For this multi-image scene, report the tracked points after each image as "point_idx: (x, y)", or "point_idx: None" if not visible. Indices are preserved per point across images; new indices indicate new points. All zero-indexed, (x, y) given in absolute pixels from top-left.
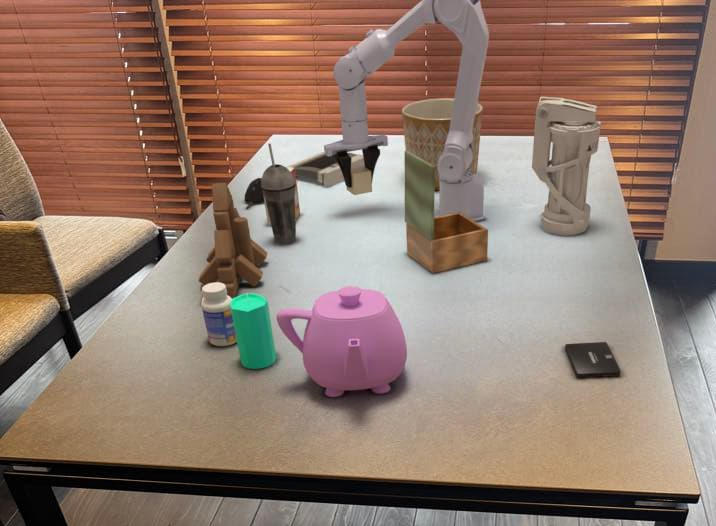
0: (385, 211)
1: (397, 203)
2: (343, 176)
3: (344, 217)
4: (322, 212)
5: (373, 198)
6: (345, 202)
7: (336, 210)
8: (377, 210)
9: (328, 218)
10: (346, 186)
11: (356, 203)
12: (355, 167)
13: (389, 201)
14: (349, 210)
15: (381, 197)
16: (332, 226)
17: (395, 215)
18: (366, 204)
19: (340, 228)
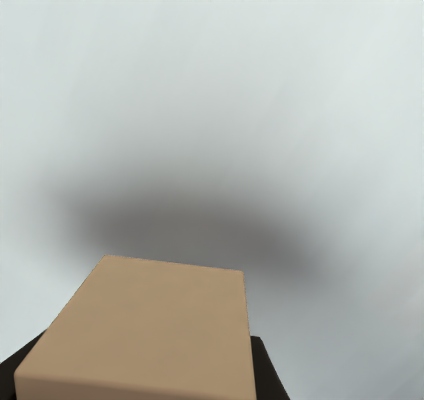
0: (287, 294)
1: (398, 247)
2: (9, 360)
3: (99, 247)
4: (26, 123)
5: (361, 104)
6: (197, 58)
7: (102, 143)
8: (267, 264)
9: (29, 214)
10: (93, 270)
11: (239, 116)
12: (150, 396)
13: (390, 200)
14: (158, 185)
15: (405, 119)
16: (17, 299)
17: (291, 350)
18: (273, 164)
19: (40, 332)
